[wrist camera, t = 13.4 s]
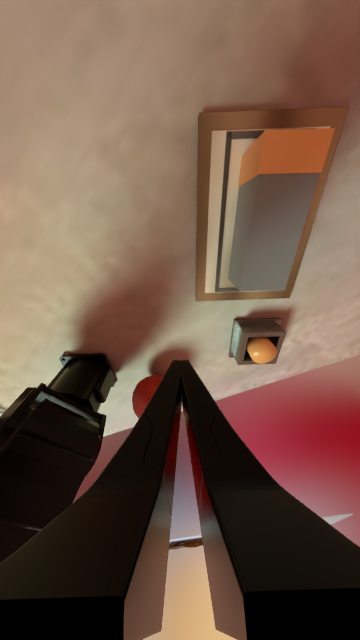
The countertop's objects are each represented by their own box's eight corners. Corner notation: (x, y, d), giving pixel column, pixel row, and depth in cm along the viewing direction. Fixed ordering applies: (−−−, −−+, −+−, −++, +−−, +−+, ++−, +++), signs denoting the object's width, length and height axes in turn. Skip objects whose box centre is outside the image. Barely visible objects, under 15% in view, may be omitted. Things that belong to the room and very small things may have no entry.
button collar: (228, 355, 25) (233, 367, 22) (233, 319, 22) (240, 329, 19) (269, 353, 24) (278, 366, 22) (280, 317, 22) (291, 328, 19)
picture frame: (195, 299, 20) (196, 301, 19) (198, 117, 13) (199, 111, 12) (286, 296, 20) (290, 298, 19) (341, 111, 13) (351, 105, 12)
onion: (174, 389, 28) (173, 443, 21) (139, 388, 28) (127, 442, 21) (175, 363, 25) (174, 416, 18) (137, 362, 25) (121, 415, 18)
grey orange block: (227, 278, 18) (239, 291, 15) (242, 155, 13) (265, 129, 10) (264, 277, 18) (285, 290, 15) (293, 154, 13) (335, 127, 10)
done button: (242, 351, 23) (249, 364, 21) (246, 333, 21) (253, 344, 19) (264, 350, 23) (273, 363, 21) (269, 332, 21) (279, 343, 19)
